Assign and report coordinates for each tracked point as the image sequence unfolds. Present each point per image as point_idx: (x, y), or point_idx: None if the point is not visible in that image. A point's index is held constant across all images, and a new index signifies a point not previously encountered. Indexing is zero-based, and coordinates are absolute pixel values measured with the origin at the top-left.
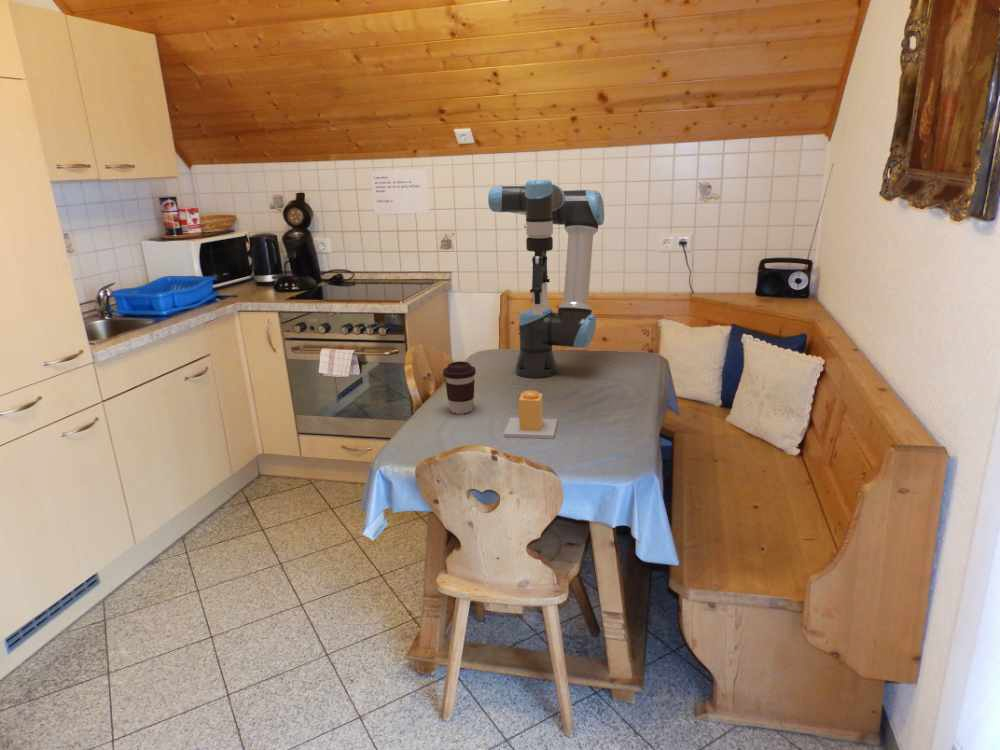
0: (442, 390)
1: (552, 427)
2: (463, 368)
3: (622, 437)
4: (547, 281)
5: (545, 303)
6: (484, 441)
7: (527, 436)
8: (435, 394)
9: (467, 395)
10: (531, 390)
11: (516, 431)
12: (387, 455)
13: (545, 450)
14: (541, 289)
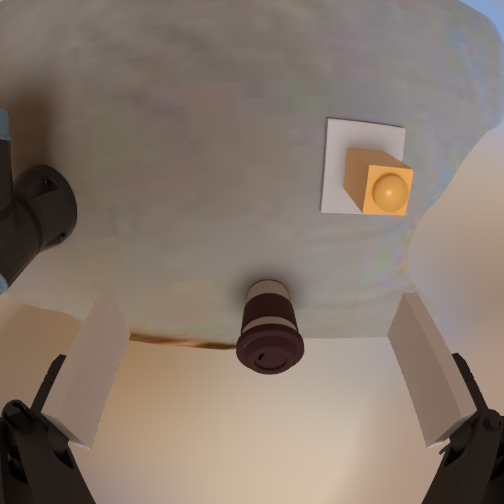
0: (179, 332)
1: (371, 128)
2: (291, 351)
3: (390, 7)
4: (20, 412)
5: (114, 307)
6: (401, 239)
7: None
8: (199, 338)
9: (289, 305)
10: (377, 193)
11: None
12: None
13: (442, 144)
14: (501, 426)
